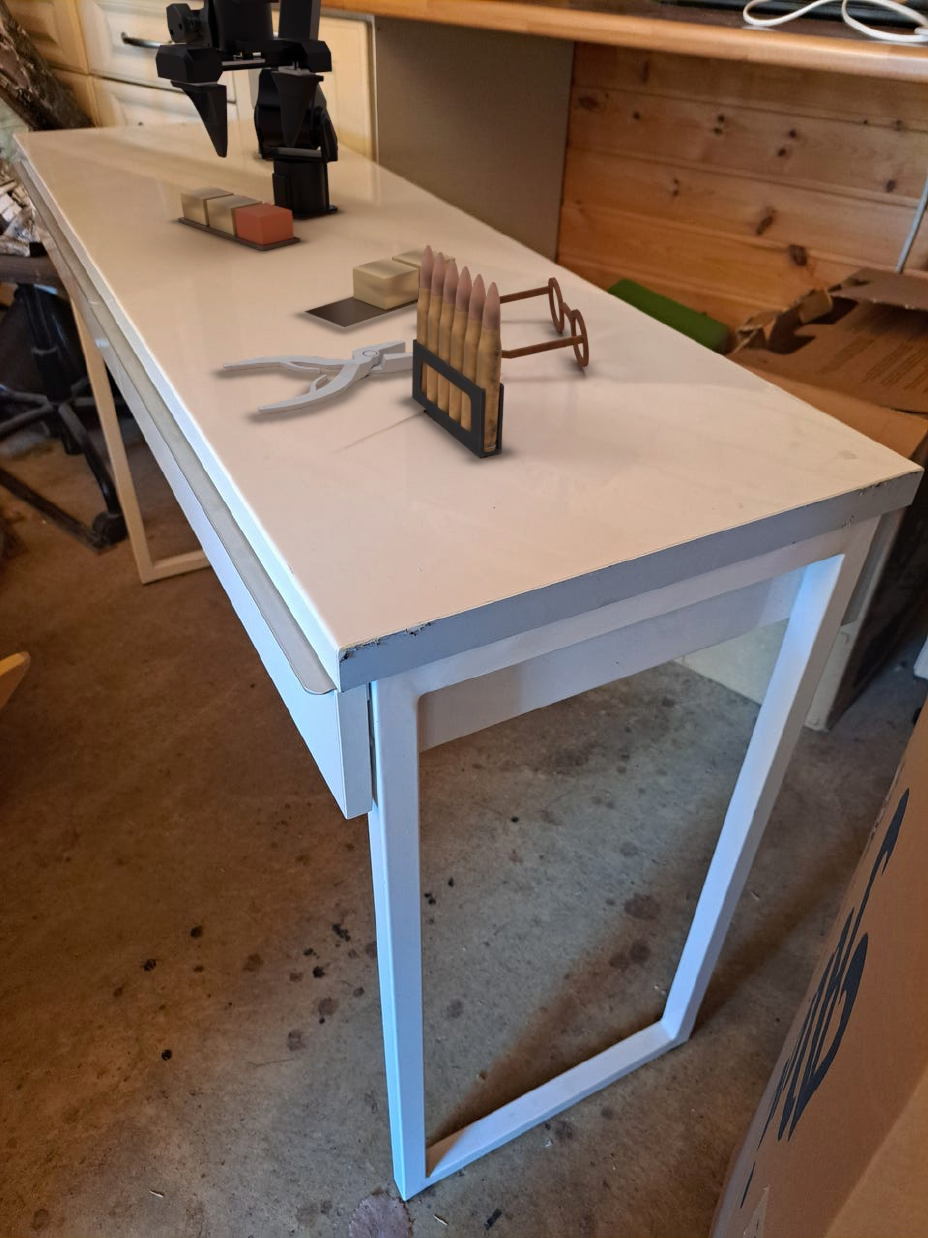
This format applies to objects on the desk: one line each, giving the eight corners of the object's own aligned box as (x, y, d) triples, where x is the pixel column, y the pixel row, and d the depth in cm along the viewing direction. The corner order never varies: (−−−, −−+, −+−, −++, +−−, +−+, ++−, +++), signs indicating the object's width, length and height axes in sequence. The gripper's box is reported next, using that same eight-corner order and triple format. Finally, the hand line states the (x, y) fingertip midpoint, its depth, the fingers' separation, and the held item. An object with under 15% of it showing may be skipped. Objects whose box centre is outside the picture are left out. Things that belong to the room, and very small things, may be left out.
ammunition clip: (411, 400, 70) (410, 243, 62) (431, 396, 71) (433, 240, 63) (480, 458, 63) (488, 288, 55) (502, 452, 63) (513, 284, 56)
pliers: (220, 353, 72) (386, 327, 78) (223, 371, 73) (387, 344, 79) (259, 400, 65) (437, 367, 71) (262, 419, 66) (437, 385, 72)
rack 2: (422, 278, 94) (422, 245, 92) (461, 291, 91) (462, 257, 89) (304, 315, 84) (301, 279, 82) (344, 330, 81) (342, 293, 79)
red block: (294, 237, 103) (291, 210, 101) (262, 245, 100) (259, 217, 98) (269, 229, 105) (266, 202, 103) (237, 236, 102) (234, 209, 100)
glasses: (590, 379, 74) (597, 320, 71) (438, 383, 73) (439, 323, 69) (554, 323, 85) (559, 270, 81) (419, 326, 83) (420, 271, 80)
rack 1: (178, 221, 108) (173, 191, 106) (216, 213, 111) (212, 184, 109) (262, 250, 99) (259, 219, 97) (300, 241, 103) (298, 210, 101)
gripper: (263, -29, 96) (277, 131, 106) (110, -29, 85) (140, 150, 95) (331, -23, 91) (339, 146, 100) (176, -22, 80) (202, 167, 89)
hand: (256, 151), depth 96 cm, fingers open, 9 cm apart
